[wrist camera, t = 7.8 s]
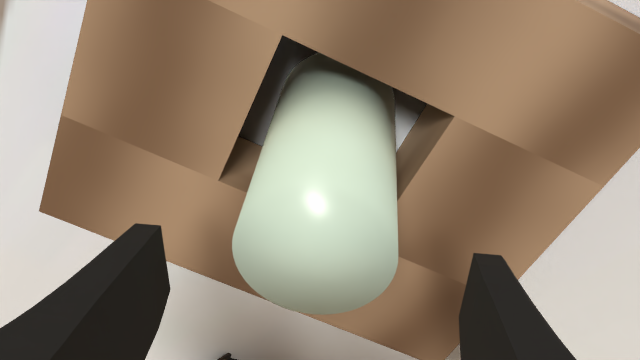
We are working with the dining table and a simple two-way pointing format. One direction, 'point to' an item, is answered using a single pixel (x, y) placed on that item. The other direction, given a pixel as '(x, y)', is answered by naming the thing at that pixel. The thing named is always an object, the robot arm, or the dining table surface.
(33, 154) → the dining table surface
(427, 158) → the peg board
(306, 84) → the peg
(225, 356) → the brown pointed cylinder
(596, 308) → the dining table surface
